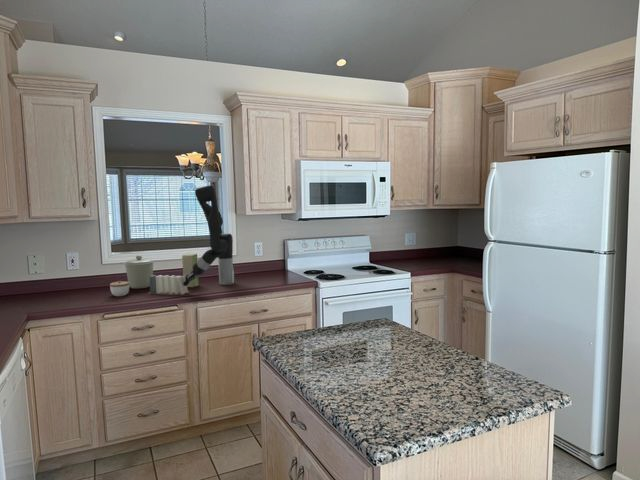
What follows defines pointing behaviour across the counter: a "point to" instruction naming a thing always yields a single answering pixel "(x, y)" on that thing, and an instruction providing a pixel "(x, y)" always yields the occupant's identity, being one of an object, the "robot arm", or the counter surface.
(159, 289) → the domino
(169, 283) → the domino
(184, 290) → the domino
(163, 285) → the domino
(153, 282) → the domino
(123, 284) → the lidded jar
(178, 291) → the domino
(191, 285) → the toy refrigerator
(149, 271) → the canister
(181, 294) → the runner
